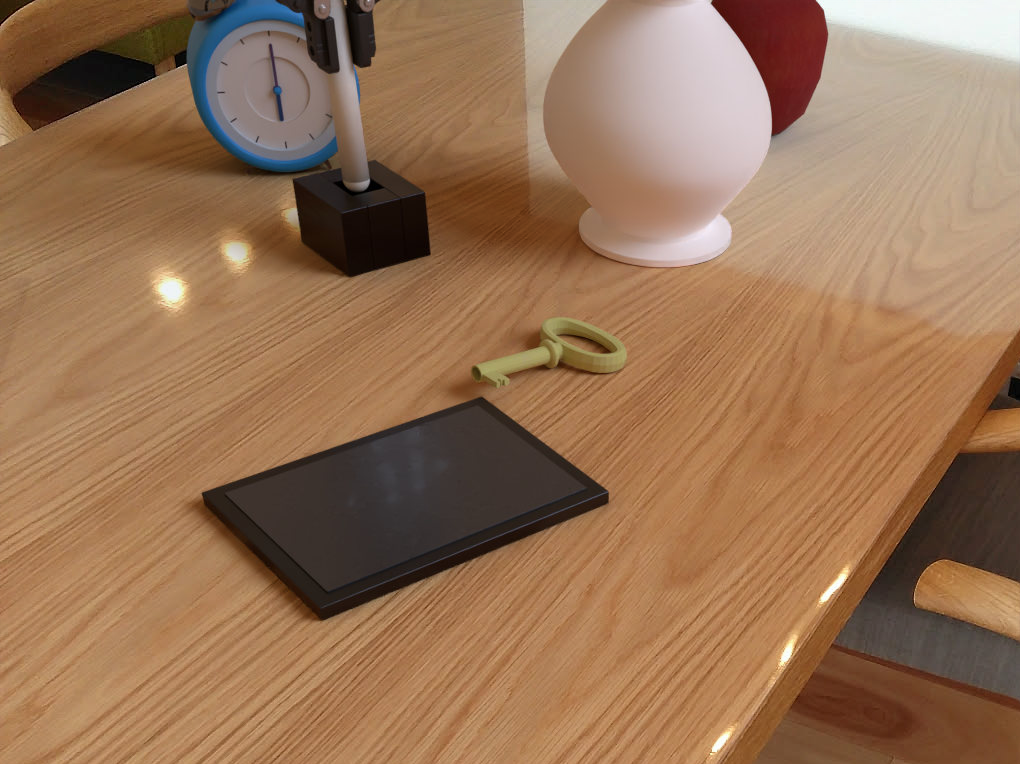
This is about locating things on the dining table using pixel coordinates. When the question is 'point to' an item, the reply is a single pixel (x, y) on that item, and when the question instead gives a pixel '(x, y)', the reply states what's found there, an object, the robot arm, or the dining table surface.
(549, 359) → the key
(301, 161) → the alarm clock
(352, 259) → the holder
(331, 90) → the stylus
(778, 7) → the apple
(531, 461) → the tablet
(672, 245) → the decorative vase
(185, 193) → the dining table surface
